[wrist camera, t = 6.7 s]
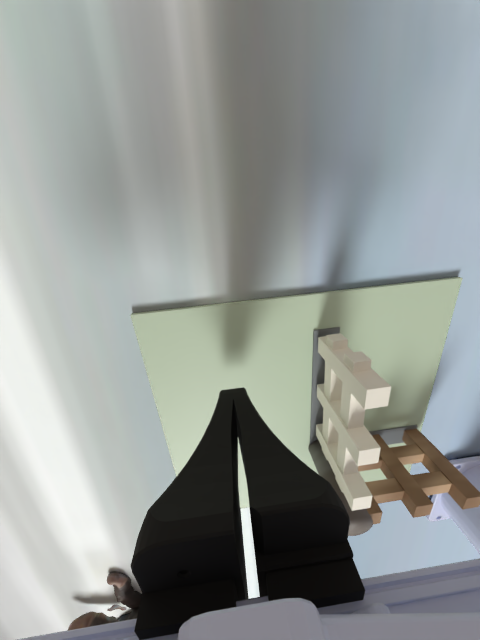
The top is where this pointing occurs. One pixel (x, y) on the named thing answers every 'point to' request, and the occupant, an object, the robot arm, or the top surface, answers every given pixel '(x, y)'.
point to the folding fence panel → (348, 415)
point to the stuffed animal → (123, 595)
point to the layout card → (294, 361)
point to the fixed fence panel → (402, 480)
